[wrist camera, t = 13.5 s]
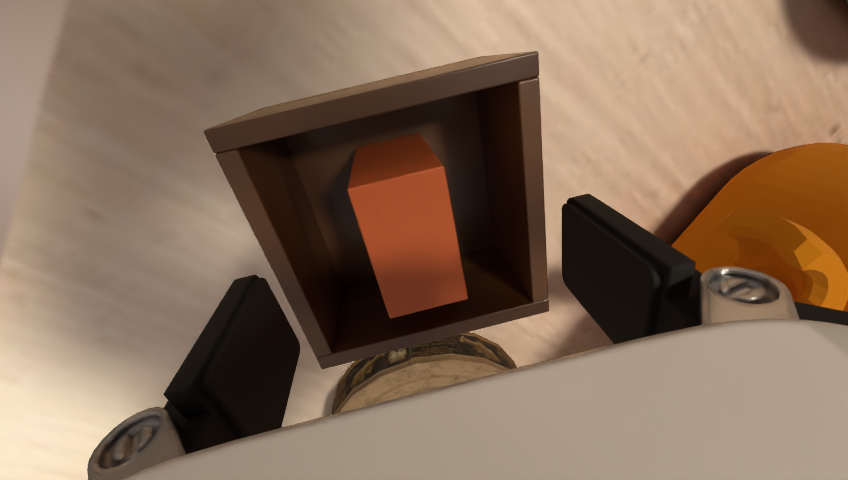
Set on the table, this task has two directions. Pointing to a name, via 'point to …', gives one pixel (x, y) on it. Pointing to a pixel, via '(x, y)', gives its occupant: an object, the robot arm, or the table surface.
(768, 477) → the robot arm
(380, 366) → the wood slice
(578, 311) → the table surface
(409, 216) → the terracotta rectangular prism
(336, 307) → the holder bin
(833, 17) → the table surface
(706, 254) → the holder
